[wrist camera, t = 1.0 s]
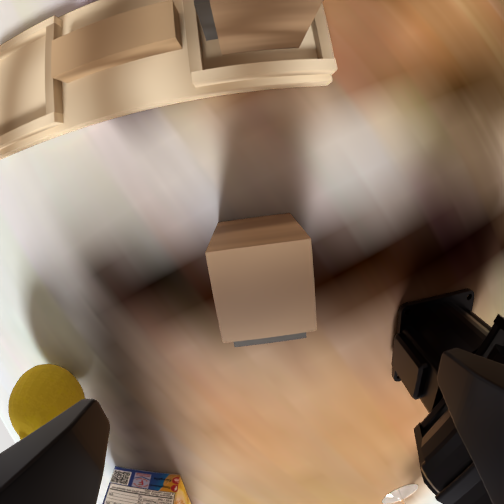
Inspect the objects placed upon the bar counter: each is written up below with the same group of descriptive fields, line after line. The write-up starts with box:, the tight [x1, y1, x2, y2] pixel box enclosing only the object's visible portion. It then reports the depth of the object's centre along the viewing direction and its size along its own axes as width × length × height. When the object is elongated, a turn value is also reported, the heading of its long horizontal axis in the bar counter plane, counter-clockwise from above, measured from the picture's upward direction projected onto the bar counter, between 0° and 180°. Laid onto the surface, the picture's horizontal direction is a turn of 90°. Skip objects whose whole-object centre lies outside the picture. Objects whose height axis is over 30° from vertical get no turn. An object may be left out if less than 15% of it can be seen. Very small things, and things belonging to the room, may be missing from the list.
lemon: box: [9, 364, 85, 440], centre depth 17 cm, size 6×6×8 cm
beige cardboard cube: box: [205, 213, 317, 347], centre depth 15 cm, size 5×4×6 cm
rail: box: [0, 0, 337, 160], centre depth 11 cm, size 22×8×7 cm, turn 97°
